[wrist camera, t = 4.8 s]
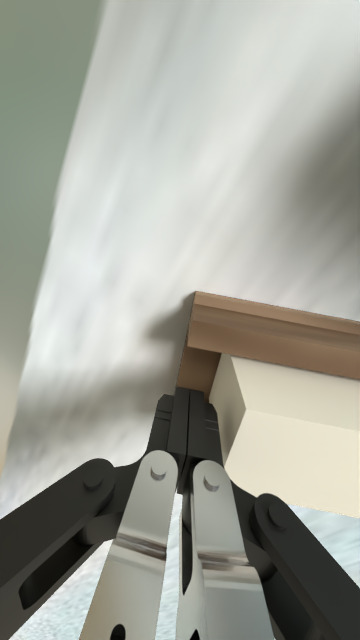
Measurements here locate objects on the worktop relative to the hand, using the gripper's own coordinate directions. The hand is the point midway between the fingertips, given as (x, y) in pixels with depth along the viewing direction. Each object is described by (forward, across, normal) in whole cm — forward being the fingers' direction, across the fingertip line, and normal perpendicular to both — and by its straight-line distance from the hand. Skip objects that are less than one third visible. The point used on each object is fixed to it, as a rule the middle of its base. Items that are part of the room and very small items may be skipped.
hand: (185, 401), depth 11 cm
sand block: (+4, -6, 0) cm, 7 cm away
